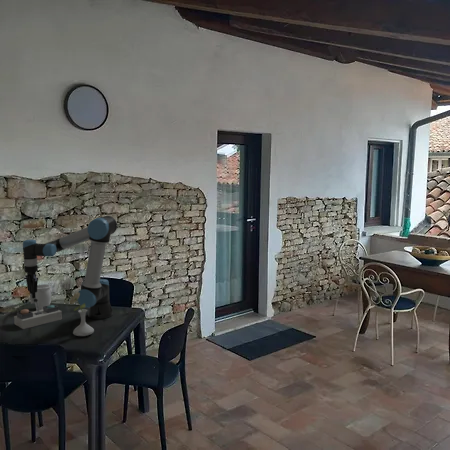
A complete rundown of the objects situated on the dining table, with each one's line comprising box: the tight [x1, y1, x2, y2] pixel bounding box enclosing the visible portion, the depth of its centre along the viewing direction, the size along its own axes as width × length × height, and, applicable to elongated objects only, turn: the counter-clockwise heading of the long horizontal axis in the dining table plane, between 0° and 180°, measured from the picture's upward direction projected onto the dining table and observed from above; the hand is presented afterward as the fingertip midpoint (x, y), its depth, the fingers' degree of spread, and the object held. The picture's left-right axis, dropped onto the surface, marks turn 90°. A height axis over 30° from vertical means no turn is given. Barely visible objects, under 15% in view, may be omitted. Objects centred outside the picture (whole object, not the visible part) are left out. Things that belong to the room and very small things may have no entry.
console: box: [13, 304, 63, 330], centre depth 285 cm, size 12×24×8 cm, turn 136°
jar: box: [35, 284, 52, 310], centre depth 310 cm, size 11×10×15 cm
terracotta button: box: [20, 308, 30, 315], centre depth 279 cm, size 4×4×2 cm
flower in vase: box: [68, 292, 95, 337], centre depth 262 cm, size 13×11×25 cm
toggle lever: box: [34, 299, 39, 312], centre depth 285 cm, size 2×2×8 cm
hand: (33, 303), depth 288 cm, fingers closed
